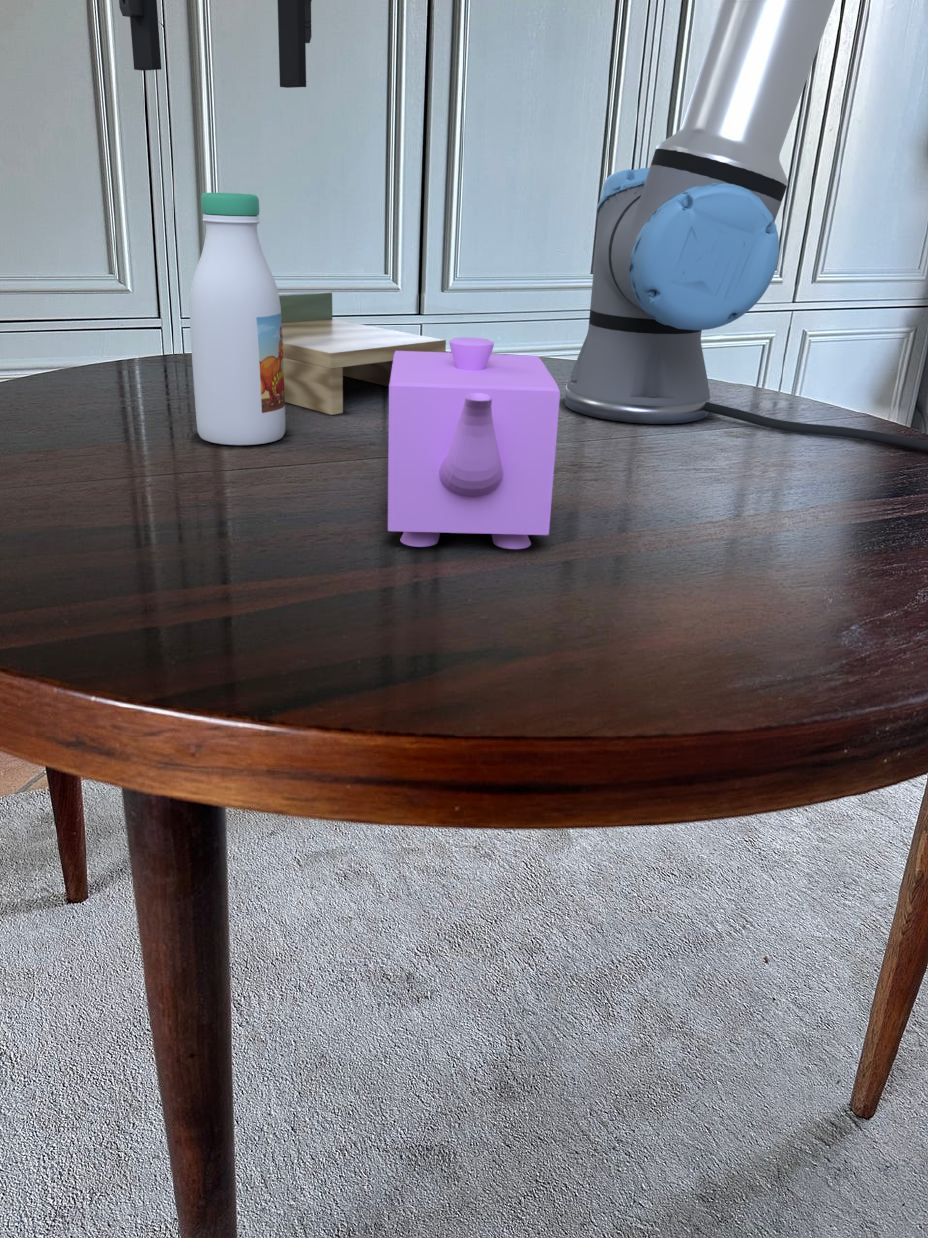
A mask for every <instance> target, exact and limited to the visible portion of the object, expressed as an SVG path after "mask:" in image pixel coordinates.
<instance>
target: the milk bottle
mask: <svg viewBox="0 0 928 1238" xmlns="http://www.w3.org/2000/svg"><path fill="white" fill-rule="evenodd" d="M200 202H201V203H200V205H201V206H200V207H201V212H202V213H201V214H202V219H201V220H202V221H203V222H204V224H205V235H204V237H205V238H204V243H203V247H202V252H201V254H200V258H199V260H198V263H197V266H196V269H195V271H194V274H193V277H192V281H191V285H190V291H189V329H190V346H191V359H192V360H191V363H192V378H193V379H192V380H193V393H194V406H195V417H196V418H195V421H196V430H197V433H198V435H199V438H200V439H202V440H204V441H206V442H209V443H213V444H219V445H229V446H250V445H251V446H253V445H261V444H267V443H273V442H276V441H278V440H281V439H282V438H283V437H284V435H285V433H286V402H285V391H284V362H283V338H282V319H281V306H280V299H279V294H280V293H279V290H278V285H277V283H276V280H275V277H274V276H273V273H272V271H271V269H270V266H269V264H268V262H267V260H266V257H265V255H264V252H263V250H262V247H261V243H260V239H259V234H258V224H260V223H261V221H260V219H259V218H260V217H259V215H260V200H259V196H258V195H256V194H250V193H237V192H236V193H234V192H204V193H202V194H201V196H200Z"/></svg>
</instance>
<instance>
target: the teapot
mask: <svg viewBox="0 0 928 1238" xmlns="http://www.w3.org/2000/svg"><path fill="white" fill-rule="evenodd" d="M448 343H449V349H450V351H451V352H448V351H447V352H417V351H395V353H394V358H393V364H392V370H391V377H390V383H389V387H388V447H387V448H388V453H387V454H388V458H387V459H388V463H387V464H388V465H387V469H388V470H387V483H388V484H387V532H401V533H402V532H403V533H402V535H401V536H400V539H399V540H400V543H402V544H403V545H406V546H408V547H409V546H410V547H417V548H425V547H431V546H435V545H437V544H438V543H439V539H440V536H441V533H442V534H443V533H446V534H447V533H449V534H481V535H482V534H485V535H486V534H489V535H491V538H492V543H493V544H494V545H495V546H497V547H499V548H502V549H508V550H522V549H527V548H529V547H530V546H531V545H532V542H531V539H530V538H529V536H531V535H532V536H549V535H550V525H551V515H552V514H551V512H552V499H553V487H554V477H555V476H554V475H555V474H554V473H555V463H556V461H555V460H556V449H557V438H558V437H557V436H558V423H559V412H560V398H561V391H560V389H559V386H558V383H557V382H556V381H555V379H554V378H553V376H552V374H551V373H550V371H549V370H548V368H547V366H546V365H545V364H544V362H543V361H542V359H541V358H540V357H539V356H538V355H535V354H533V355H528V354H505V353H504V354H503V353H492V352H493V350H494V345H495V342H493V341H492V340H490V339H487V338H481V337H473V336H472V337H471V336H469V337H467V336H465V337H464V336H463V337H454V338H452V339H450V340H449V341H448Z"/></svg>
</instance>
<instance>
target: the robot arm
mask: <svg viewBox="0 0 928 1238" xmlns="http://www.w3.org/2000/svg"><path fill="white" fill-rule="evenodd" d="M835 1H836V0H721V1H720V6H719V9H718V12H717V15H716V18H715V20H714V24H713V28H712V30H711V34H710V37H709V40H708V43H707V45H706V49H705V53H704V54H703V59H702V62H701V65H700V67H699V71H698V74H697V77H696V80H695V83H694V86H693V90H692V93H691V96H690V99H689V103H688V105H687V108H686V111H685V114H684V118H683V120H682V124H681V128H680V129H678V131H677V132H676V133H674V134H673V135H670V137H668V138H667V139H665V140H663V141H662V142H660V143H659V144H657V145H656V147H655V150H654V153H653V156H652V159H651V163H650V166H649V167H641V168H636V169H624V170H620V171H616V172H614V173H612V174H610V175H609V176H608V177H606V179H604V181H603V183H602V186H601V191H600V196H599V197H600V198H599V201H598V203H597V207H596V214H597V215H596V216H597V227H596V239H595V249H594V260H593V273H592V283H591V285H592V286H591V293H590V294H591V295H590V307H589V316H588V317H589V319H588V326H587V327H588V328H587V333H586V336H585V339H584V342H583V344H582V345H581V349H580V351H579V354H578V355H577V358H576V360H575V364H574V365H573V369H572V371H571V373H570V377H569V378H568V381H567V383H566V385H565V394H564V396H565V397H564V405H565V406H566V407H567V408H568V409H570V410H572V411H574V412H576V413H579V414H582V415H586V416H588V417H592V418H593V417H594V418H598V419H601V420H608V421H616V422H623V423H633V424H634V423H635V424H651V425H652V424H653V425H659V424H660V425H661V424H662V425H663V424H667V425H668V424H669V425H671V424H683V423H684V424H685V423H691V422H696V421H700V420H702V419H703V420H704V419H705V418H707V416H708V415H709V413H711V414H714V415H718V416H722V417H723V416H724V417H727V418H730V419H735V420H739V421H743V422H746V423H750V424H753V425H756V426H760V427H764V428H768V429H774V430H778V431H785V432H791V433H792V432H793V433H800V434H809V435H820V436H832V437H839V438H848V439H854V440H855V439H856V440H861V441H867V442H874V443H880V444H884V445H891V446H894V447H895V446H896V447H901V448H905V449H911V450H917V451H921V452H927V453H928V440H923V439H919V438H913V437H907V436H903V435H897V434H893V433H892V434H891V433H886V432H880V431H873V430H869V429H868V430H867V429H862V428H855V427H846V426H838V425H837V426H836V425H829V424H828V425H827V424H817V423H816V424H815V423H805V422H795V421H789V420H783V419H778V418H772V417H768V416H764V415H759V414H756V413H753V412H750V411H746V410H743V409H738V408H734V407H730V406H725V405H721V404H718V403H713V402H711V392H710V387H709V381H708V374H707V368H706V363H705V358H704V351H703V345H702V331H707V330H714V329H717V328H721V327H723V326H726V325H728V324H730V323H732V322H734V321H736V320H739V318H741V317H742V316H744V315H745V314H746V313H747V312H749V311H750V310H751V309H752V308H753V307H754V306H755V305H756V304H757V303H758V302H759V301H760V299H761V298H763V296H764V295H765V293H766V292H767V290H768V288H769V286H770V284H771V283H772V281H773V278H774V275H775V274H776V270H777V267H778V262H779V256H780V238H779V231H778V229H777V224H776V223H775V222H776V219H777V217H778V214H779V211H780V209H781V206H782V202H783V199H784V196H785V193H786V191H787V188H788V185H789V180H788V177H787V175H786V173H785V171H784V168H783V165H782V163H781V159H780V156H781V153H782V149H783V146H784V143H785V141H786V139H787V135H788V132H789V129H790V127H791V124H792V121H793V118H794V115H795V113H796V111H797V107H798V105H799V102H800V99H801V96H802V94H803V91H804V88H805V85H806V83H807V79H808V77H809V74H810V71H811V69H812V66H813V63H814V61H815V57H816V55H817V52H818V49H819V46H820V44H821V41H822V38H823V35H824V33H825V29H826V26H827V24H828V22H829V18H830V16H831V13H832V11H833V8H834V4H835ZM118 5H119V6H118V7H119V10H120V13H121V16H122V17H125V18H129V24H130V36H131V48H132V61H133V62H132V63H133V71H142V72H143V71H159V70H160V71H161V70H162V59H161V57H162V56H161V43H160V28H159V27H160V26H159V13H158V0H118ZM277 31H278V32H277V34H278V35H277V36H278V70H279V87H280V88H285V89H288V88H289V89H292V88H307V52H306V50H307V47H306V44H310V43H311V40H312V0H277Z"/></svg>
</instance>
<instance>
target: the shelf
mask: <svg viewBox="0 0 928 1238" xmlns="http://www.w3.org/2000/svg"><path fill="white" fill-rule="evenodd" d="M279 299H280V306H281V319H282V338H283V362H284V391H285V404H286V403H287V404H290V405H293V406H294V405H295V406H298V407H301V408H304V409H309V410H311V411H314V412H315V411H316V412H320V413H323V414H325V415H326V414H327V415H330V416H333V415H340V414H343V413H344V387H343V386H344V382H343V381H344V377H347V378H349V379H355V380H358V381H363V382H368V383H370V384H371V383H372V384H375V385H379V386H384V387H388V388H389V383H390V377H391V370H392V364H393V358H394V353H395V351H417V352H446V349H447V347H446V346H447V340H446V339H443V338H437V337H433V336H432V337H431V336H426V335H420V334H416V333H410V332H404V331H399V330H394V329H387V328H382V327H378V326H373V325H366V324H361V323H355V322H350V321H344V320H341V319H334V317H333V292H330V291H313V292H297V293H295V292H294V293H282V294H281V293H279Z"/></svg>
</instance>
